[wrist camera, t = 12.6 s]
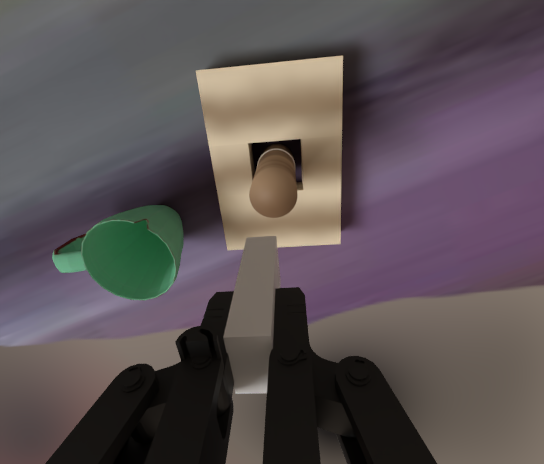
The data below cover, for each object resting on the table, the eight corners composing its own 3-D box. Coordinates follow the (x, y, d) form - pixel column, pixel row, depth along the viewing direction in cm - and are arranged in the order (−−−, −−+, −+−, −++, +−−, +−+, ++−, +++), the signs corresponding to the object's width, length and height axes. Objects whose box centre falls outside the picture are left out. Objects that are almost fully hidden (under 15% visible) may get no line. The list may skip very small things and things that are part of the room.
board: (203, 71, 32) (195, 70, 29) (338, 57, 31) (343, 55, 28) (231, 238, 41) (227, 250, 38) (336, 232, 40) (340, 243, 37)
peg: (257, 144, 35) (245, 173, 24) (293, 141, 35) (297, 169, 24) (261, 179, 37) (251, 220, 26) (295, 176, 37) (299, 217, 26)
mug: (190, 182, 38) (160, 214, 29) (208, 250, 42) (187, 297, 33) (79, 195, 39) (18, 229, 30) (108, 260, 43) (61, 307, 34)
